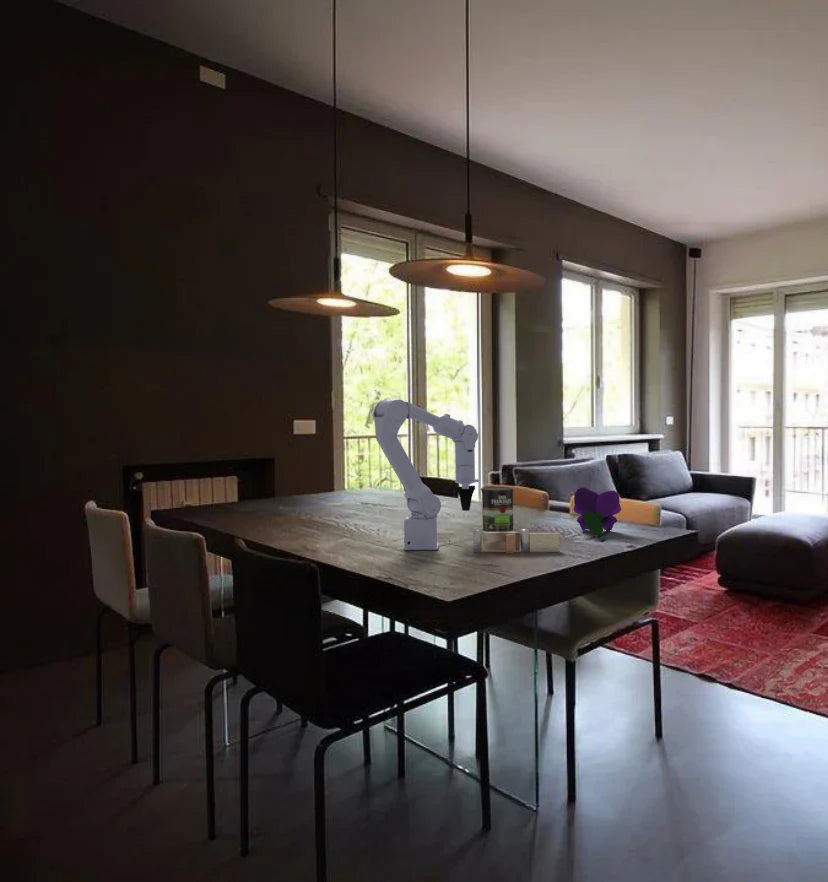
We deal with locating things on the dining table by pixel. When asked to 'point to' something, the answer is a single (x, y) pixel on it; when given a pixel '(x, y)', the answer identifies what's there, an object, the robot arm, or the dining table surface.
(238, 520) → the dining table surface
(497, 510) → the coffee can
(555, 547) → the gate frame
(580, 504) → the flower
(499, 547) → the gate leaf
